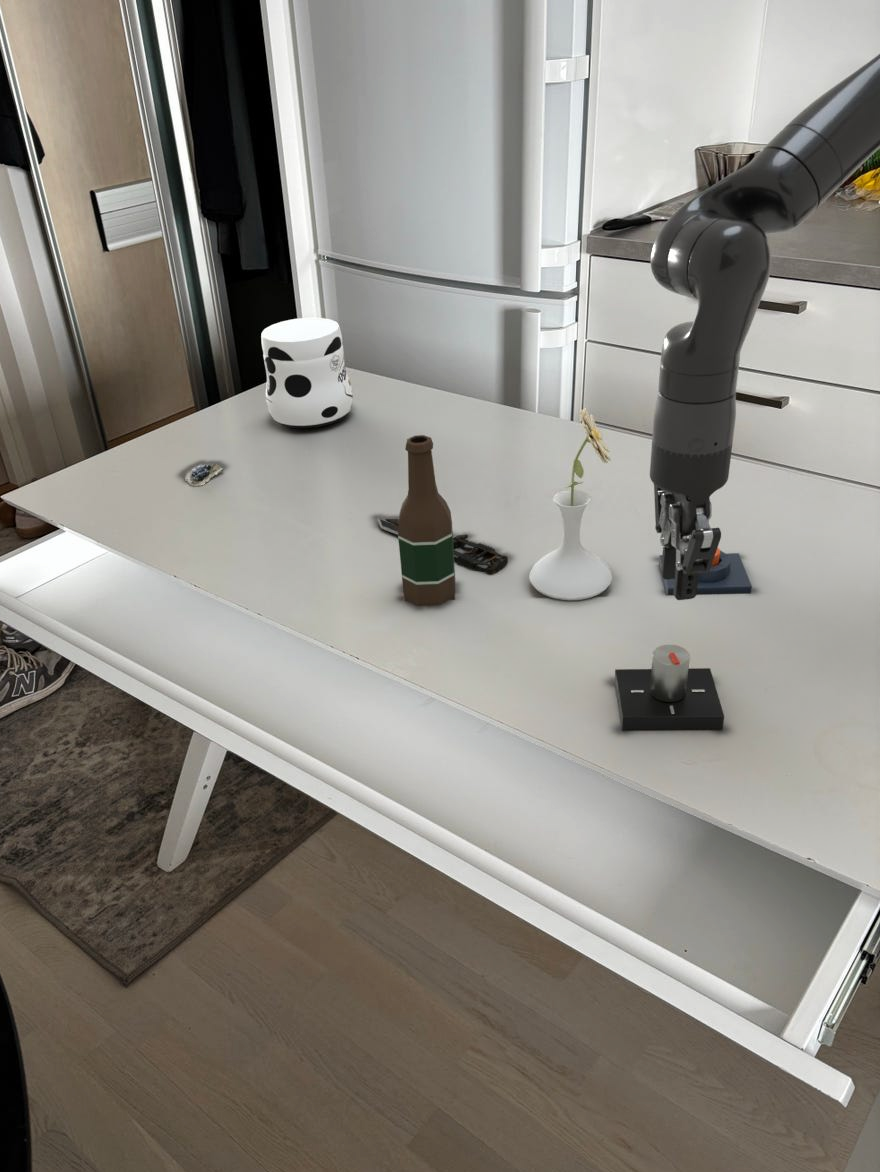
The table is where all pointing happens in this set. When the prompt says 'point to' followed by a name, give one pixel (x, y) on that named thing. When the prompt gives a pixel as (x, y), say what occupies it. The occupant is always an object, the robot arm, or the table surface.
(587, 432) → the flower in vase
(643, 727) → the hob panel
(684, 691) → the hob knob
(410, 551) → the beer bottle
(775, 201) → the robot arm
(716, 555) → the button
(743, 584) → the button block
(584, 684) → the table surface
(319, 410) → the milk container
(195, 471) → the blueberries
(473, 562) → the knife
